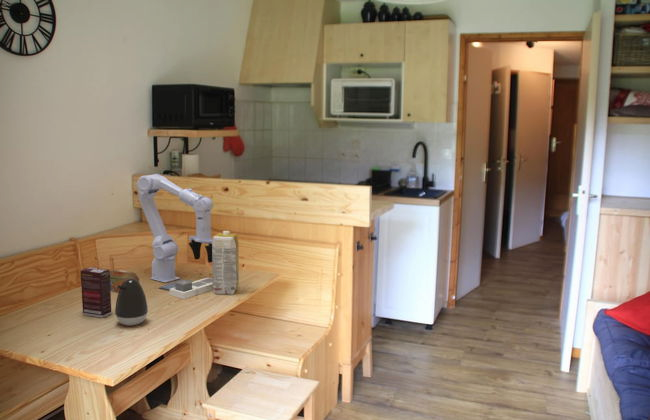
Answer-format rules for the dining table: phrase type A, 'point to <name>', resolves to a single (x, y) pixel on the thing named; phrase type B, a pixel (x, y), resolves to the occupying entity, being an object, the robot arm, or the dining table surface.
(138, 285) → the black egg-shaped piece
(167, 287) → the phone
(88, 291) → the supplement box
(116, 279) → the tin
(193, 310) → the dining table surface
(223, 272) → the juice carton
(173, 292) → the outlet strip
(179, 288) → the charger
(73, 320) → the dining table surface
